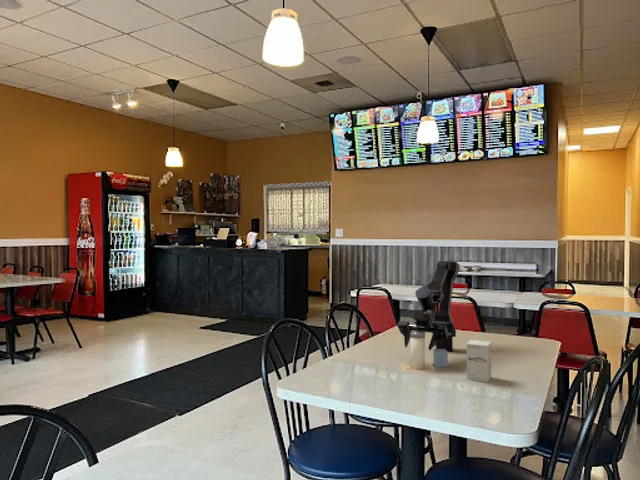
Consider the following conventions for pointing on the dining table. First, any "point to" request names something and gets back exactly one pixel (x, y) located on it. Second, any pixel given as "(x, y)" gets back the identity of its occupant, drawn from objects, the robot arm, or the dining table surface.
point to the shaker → (417, 349)
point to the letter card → (407, 368)
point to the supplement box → (479, 360)
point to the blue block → (440, 357)
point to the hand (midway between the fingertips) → (417, 348)
